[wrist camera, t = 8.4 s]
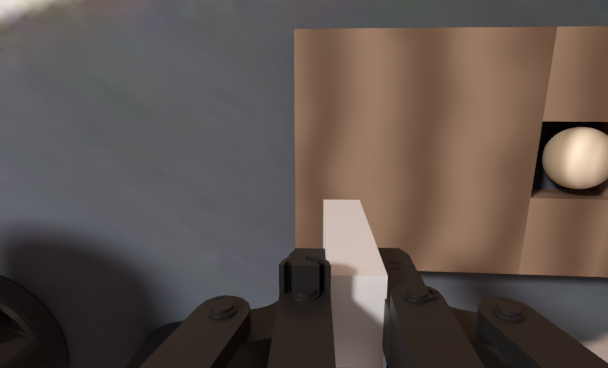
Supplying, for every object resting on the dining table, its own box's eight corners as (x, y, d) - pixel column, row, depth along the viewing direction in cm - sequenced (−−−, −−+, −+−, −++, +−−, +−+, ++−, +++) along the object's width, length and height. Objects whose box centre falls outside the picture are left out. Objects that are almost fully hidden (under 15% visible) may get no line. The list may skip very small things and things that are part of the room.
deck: (298, 251, 30) (295, 266, 28) (297, 33, 26) (294, 29, 24) (621, 262, 29) (648, 278, 26) (675, 30, 25) (712, 25, 22)
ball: (527, 186, 26) (599, 200, 23) (537, 126, 25) (614, 132, 22) (550, 177, 28) (618, 189, 25) (559, 122, 27) (631, 127, 24)
